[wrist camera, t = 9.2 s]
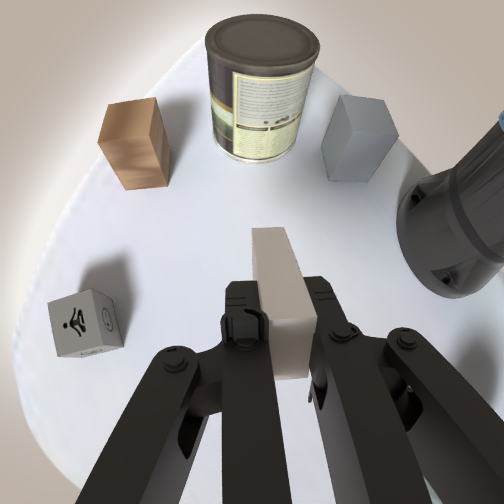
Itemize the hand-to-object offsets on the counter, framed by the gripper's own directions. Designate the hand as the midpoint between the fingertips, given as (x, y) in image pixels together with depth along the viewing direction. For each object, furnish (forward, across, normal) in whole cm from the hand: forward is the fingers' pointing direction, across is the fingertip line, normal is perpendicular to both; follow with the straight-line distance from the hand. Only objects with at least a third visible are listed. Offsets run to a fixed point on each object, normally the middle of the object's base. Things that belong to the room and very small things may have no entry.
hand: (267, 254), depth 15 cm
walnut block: (+21, -12, 0) cm, 24 cm away
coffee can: (+25, +1, +4) cm, 26 cm away
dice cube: (+9, -16, -12) cm, 22 cm away
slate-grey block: (+22, +12, 0) cm, 25 cm away
